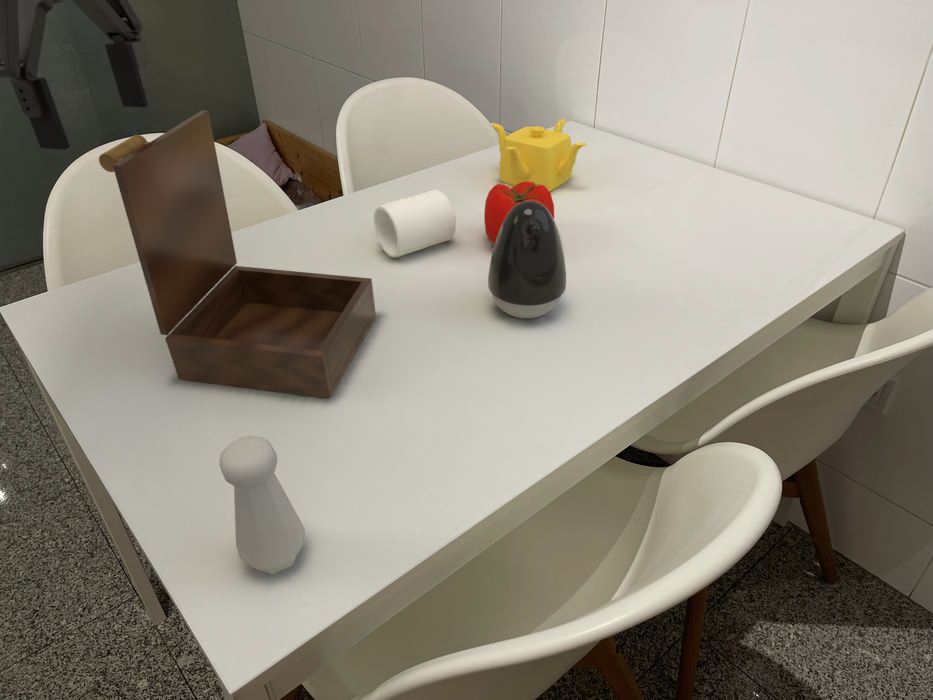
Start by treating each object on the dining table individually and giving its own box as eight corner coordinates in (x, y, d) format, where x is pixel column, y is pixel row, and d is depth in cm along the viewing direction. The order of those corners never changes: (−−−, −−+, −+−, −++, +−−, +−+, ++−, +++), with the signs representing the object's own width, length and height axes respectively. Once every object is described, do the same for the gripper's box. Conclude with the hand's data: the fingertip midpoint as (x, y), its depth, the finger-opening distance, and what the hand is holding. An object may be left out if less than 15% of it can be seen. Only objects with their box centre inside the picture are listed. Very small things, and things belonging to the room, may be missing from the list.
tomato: (485, 261, 104) (484, 205, 99) (484, 225, 114) (483, 172, 109) (556, 260, 104) (560, 204, 99) (549, 224, 114) (552, 171, 108)
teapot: (490, 167, 134) (490, 117, 128) (561, 162, 135) (565, 112, 130) (505, 199, 122) (506, 145, 116) (583, 192, 124) (588, 139, 118)
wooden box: (376, 317, 93) (371, 278, 89) (329, 399, 79) (322, 356, 76) (244, 303, 96) (235, 265, 92) (178, 379, 83) (164, 338, 79)
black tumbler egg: (492, 332, 89) (492, 223, 80) (484, 290, 98) (484, 187, 89) (571, 327, 90) (580, 219, 81) (557, 286, 98) (563, 183, 89)
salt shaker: (317, 564, 61) (293, 459, 53) (253, 594, 59) (217, 488, 51) (295, 519, 65) (269, 415, 57) (234, 545, 63) (199, 440, 55)
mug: (457, 247, 108) (455, 199, 103) (401, 266, 103) (397, 217, 99) (417, 220, 116) (414, 174, 111) (364, 236, 112) (358, 189, 107)
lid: (208, 110, 80) (154, 104, 81) (119, 166, 67) (56, 158, 68) (237, 262, 92) (189, 256, 93) (166, 335, 79) (112, 327, 80)
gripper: (-58, -110, 51) (49, 171, 63) (139, -123, 70) (191, 93, 83) (-144, -109, 52) (-22, 166, 64) (74, -123, 72) (135, 90, 84)
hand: (98, 125), depth 74 cm, fingers open, 13 cm apart
